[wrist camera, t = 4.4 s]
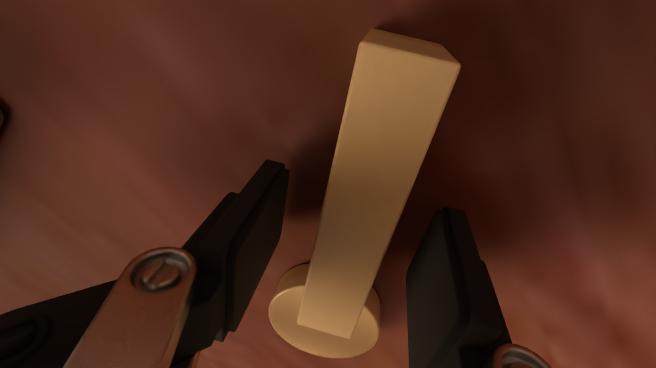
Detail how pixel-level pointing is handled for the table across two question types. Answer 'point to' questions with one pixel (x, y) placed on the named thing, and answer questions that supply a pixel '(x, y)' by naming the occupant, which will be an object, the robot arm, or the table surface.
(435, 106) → the wooden spoon
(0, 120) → the calculator
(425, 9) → the table surface
